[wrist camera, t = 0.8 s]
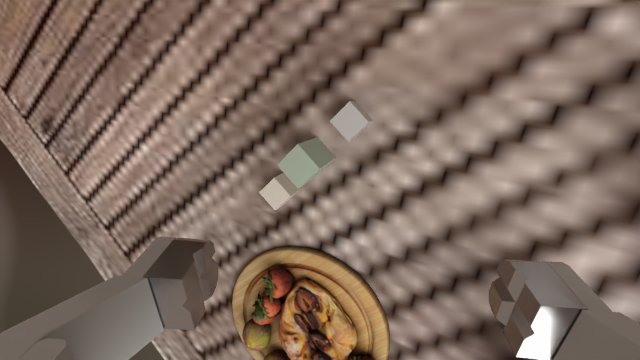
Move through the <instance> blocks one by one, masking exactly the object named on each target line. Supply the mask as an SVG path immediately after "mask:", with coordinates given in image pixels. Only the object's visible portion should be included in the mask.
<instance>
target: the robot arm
mask: <svg viewBox="0 0 640 360" xmlns="http://www.w3.org/2000/svg"><path fill="white" fill-rule="evenodd" d="M214 253H215V249H214V244H213V242H211V241H210V240H199V239H187V238H173V237H159V238H156V239H155V240H154V241H153V242H152V244H151V245H150V246H149V247H148V248H147V249H146V250H145V251H144V252H143V253H142V254H141V256H140V257H139V258H138V259H137V260H136V261H135V262H134V263H133V264H132V265H131V266H130V268H129V269H128V270H127V271H126V272H125V273H124V274H123V275H122V276H115V277H112V278H110V279H108V280H106V281H104V282H102V283H100V284H99V285H96V286H94V287H92V288H90V289H88V290H86V291H84V292H82V293H80V294H78V295H76V296H74V297H72V298H70V299H68V300H66V301H64V302H62V303H60V304H58V305H56V306H54V307H52V308H50V309H48V310H46V311H44V312H42V313H40V314H38V315H36V316H34V317H32V318H30V319H28V320H26V321H24V322H22V323H20V324H18V325H16V326H14V327H12V328H10V329H8V330H6V331H4V332H2V333H1V334H0V360H128V359H130V358H131V357H132V356H133V355H134V354H136V353H137V352H138V351H139V350H140V349H141V348H143V347H144V346H145V345H146V344H148V343H149V342H150V341H151V340H152V339H154V338H155V337H156V336H157V335H159V334H160V333H161V332H162V331H163V330H164V329H163V328H167V329H186V330H195V328H196V326H197V324H198V323H199V321H200V319H201V317H202V315H203V313H204V311H205V305H204V301H206V300H207V299H209V298H210V297H211V296H212V295H213V293H214V291H215V288H216V285H217V281H218V265H217V263H216V262H215V261H214V260H213V259H212V256H213V255H214ZM496 271H497V273H498V274H499V276H500V277H499V278H498V279H496V280H495V281H494V282H492V284H491V287H490V290H489V302H490V306H491V310H492V312H493V314H494V316H495V318H496V319H498V320H499V321H500V322H501V323H503V324H504V325H505V329H504V332H503V333H504V335H505V337H506V339H507V341H508V343H509V345H510V346H511V348H512V350H513V352H514V354H515V356H516V357H522V358H531V359H540V360H640V324H639V323H637V322H635V321H634V320H632V319H630V318H628V317H626V316H625V315H623V314H621V313H618V312H612V311H611V310H610V309H609V308H608V307H607V305H606V304H605V303H604V302H603V301H602V300H601V299H600V298H599V297H598V296H597V295H596V294H595V293H594V292H593V291H592V290H591V289H590V288H589V287H588V285H587V284H586V283H585V282H584V281H583V280H582V279H581V278H580V277H579V276H578V275H577V274H576V273H575V272H574V271H573V270H572V269H571V268H570V266H568V265H566V264H565V263H563V262H543V261H542V262H535V261H518V260H502V261H501V262H500V263H499V265H498V268H497V270H496Z"/></svg>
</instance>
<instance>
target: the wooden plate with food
mask: <svg viewBox="0 0 640 360" xmlns="http://www.w3.org/2000/svg"><path fill="white" fill-rule="evenodd" d="M232 308H233V316H234V321H235V324H236V327H237V330H238V333H239V335H240V337H241V339H242V341H243V343H244V344H245V346H246V348H247V349H248V351H249V352H250V354H251V355H252V356H253V357H254V359H255V360H387V358H388V354H389V349H390V332H389V325H388V321H387V318H386V314H385V312H384V310H383V307H382V305H381V303H380V301H379V299H378V298H377V296H376V294H375V293H374V291H373V290H372V289H371V287H370V286H369V285H368V284H367V282H366V281H365V280H364V279H363V278H362V277H361V276H360V275H359V274H358V273H357V272H355V271H354V270H353V269H352V268H351V267H349V266H348V265H346V264H345V263H343V262H342V261H340V260H338V259H337V258H335V257H333V256H331V255H329V254H327V253H324V252H321V251H318V250H314V249H310V248H305V247H296V246H286V247H279V248H275V249H271V250H268V251H266V252H263V253H261V254H259V255H258V256H256V257H255V258H254V259H252V260H251V261H250V262H249V263H248V264H247V265H246V266H245V267H244V269H243V270H242V272H241V273H240V275H239V277H238V279H237V281H236V284H235V287H234V291H233V297H232Z"/></svg>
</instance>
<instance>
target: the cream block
mask: <svg viewBox="0 0 640 360" xmlns="http://www.w3.org/2000/svg"><path fill="white" fill-rule="evenodd" d="M299 190H300V189H298V188H297V187H296V186H295V185H294V184H293V183H292V181H291V180H290V179H289V178H288V177H287V176H286V175H285V174H284V173H282V174H280V175H278V176H276V177H274V178H273V179H272V180H271V181H270V182H269V183H268V184H267V185H266V186H265V187H264V188H263V189H262V190H261V191H260V192H259V193H260V194H261V195H262V196H263V197H264V199H265V200H266V201H267V202H268V203H269V204H270V205H271V206H272V208H273V209H274V210H277V209H278V208H279V207H281V206H282V205H283V204H285V203H286V202H287V201H288V200H289V199H290V198H291V197H292V196H293V195H294V194H295V193H296V192H298V191H299Z"/></svg>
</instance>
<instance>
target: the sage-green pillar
mask: <svg viewBox="0 0 640 360" xmlns="http://www.w3.org/2000/svg"><path fill="white" fill-rule="evenodd" d="M335 158H336V157H335V156H334V155H333V154H332V153H331V151H330V150H329V149H328V148H327V147H326V146H325V145H324V144H323V143H322V141H321V140H320V139H319V138H318V137H316V138H313V139H310V140H307V141H305V142H302V143H299V144H297V145H296V146H295V147H294V148H293V149H292V150H291V151H290V152H289V153H288V154H287V155H286V156H285V157H284V158H283V159H282V161H281V162H280V163H279V164H278V165H277V166H278V167H279V168H280V169H281V170H282V171H283V172H284V174H285V175H286V176H287V177H288V178H289V179H290V180H291V181H292V183H293V184H294V185H295V186H296V187H297V188H298V189H299V188H300V187H301V186H303V185H304V184H305V183H307V182H308V181H310V180H311V179H312V178H314V177H315V176H317V175H318V174H319V173H320V172H321V171H322V170H323V169H324V168H325V167H326V166H327V165H329V164H330V163H331V162H332V161H333V160H334V159H335Z"/></svg>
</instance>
